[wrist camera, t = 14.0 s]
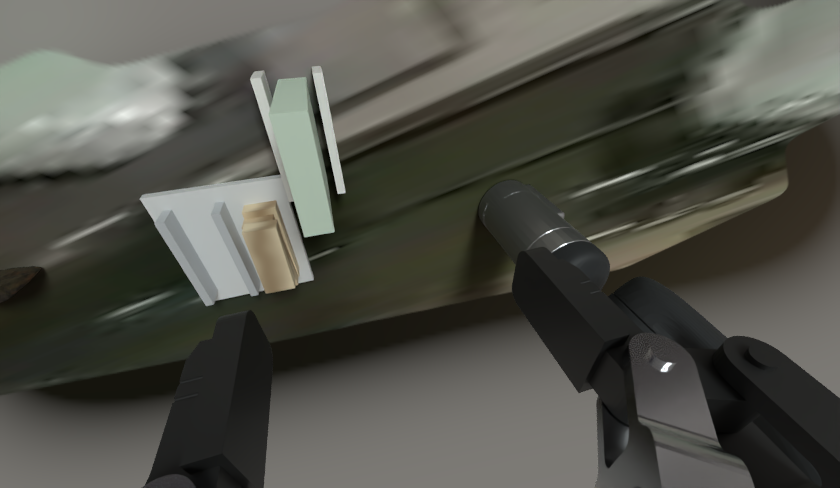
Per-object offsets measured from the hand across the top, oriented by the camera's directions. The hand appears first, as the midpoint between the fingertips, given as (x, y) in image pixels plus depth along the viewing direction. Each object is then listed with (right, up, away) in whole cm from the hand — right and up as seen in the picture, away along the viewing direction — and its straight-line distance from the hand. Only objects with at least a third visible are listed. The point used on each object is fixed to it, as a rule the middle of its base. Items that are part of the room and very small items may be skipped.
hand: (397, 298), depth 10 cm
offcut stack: (-20, +2, +37) cm, 42 cm away
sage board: (-13, +15, +31) cm, 37 cm away
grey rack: (-25, +2, +37) cm, 44 cm away
